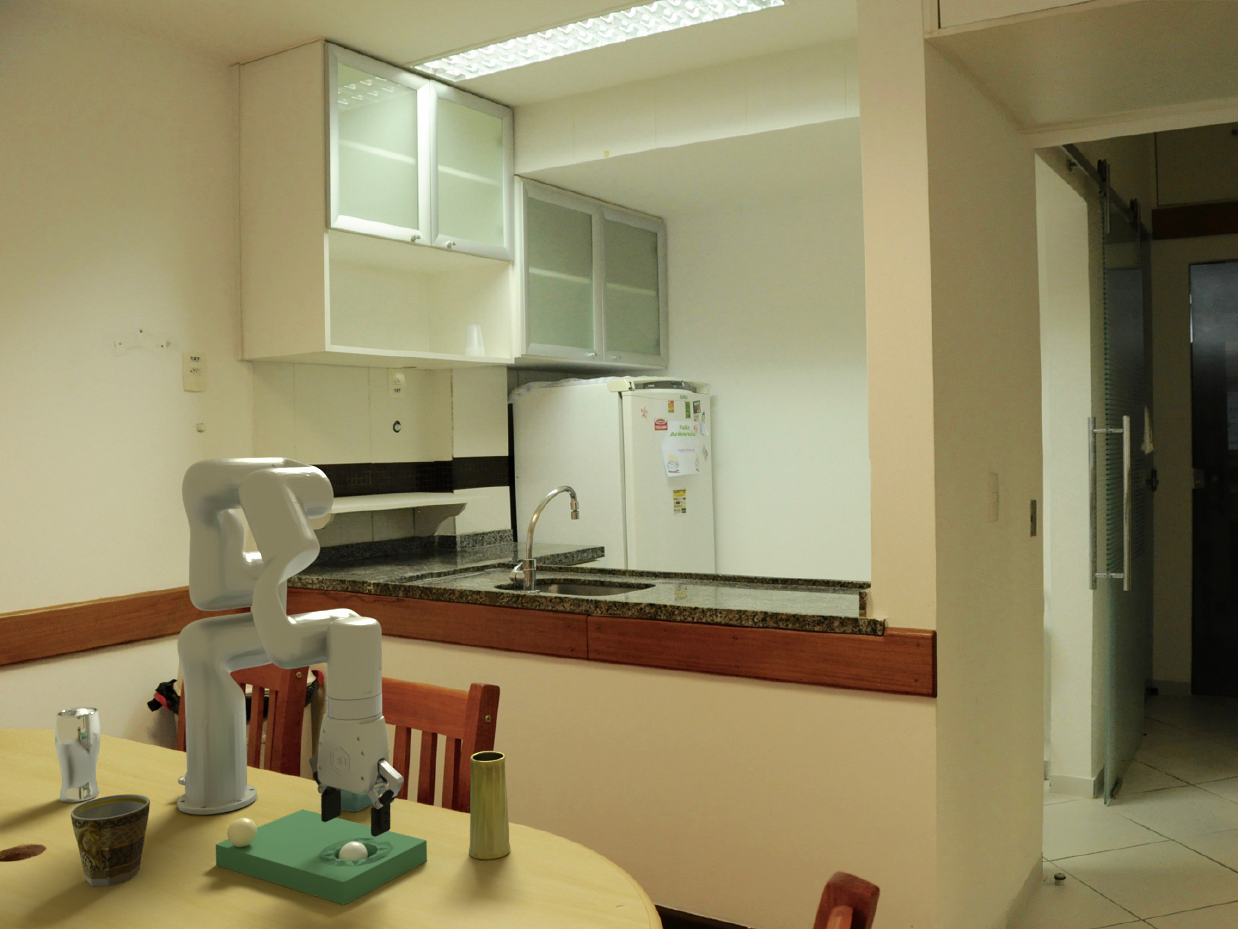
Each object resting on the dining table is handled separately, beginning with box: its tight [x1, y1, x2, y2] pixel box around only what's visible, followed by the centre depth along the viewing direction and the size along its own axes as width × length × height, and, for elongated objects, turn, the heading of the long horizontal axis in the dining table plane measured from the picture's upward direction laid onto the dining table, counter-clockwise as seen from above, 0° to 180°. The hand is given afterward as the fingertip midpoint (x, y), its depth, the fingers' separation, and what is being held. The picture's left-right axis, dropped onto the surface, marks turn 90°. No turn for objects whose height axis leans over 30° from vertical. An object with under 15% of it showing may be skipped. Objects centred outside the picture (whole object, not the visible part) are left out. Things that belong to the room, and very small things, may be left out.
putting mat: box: [215, 809, 428, 906], centre depth 146 cm, size 26×16×3 cm, turn 59°
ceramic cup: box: [70, 793, 151, 887], centre depth 141 cm, size 13×10×10 cm
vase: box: [468, 750, 511, 861], centre depth 149 cm, size 6×6×14 cm
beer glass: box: [54, 706, 101, 804], centre depth 175 cm, size 7×7×15 cm
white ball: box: [339, 842, 368, 861], centre depth 142 cm, size 4×4×4 cm
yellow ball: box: [226, 817, 258, 847], centre depth 145 cm, size 4×4×4 cm
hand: (355, 826), depth 142 cm, fingers open, 9 cm apart
